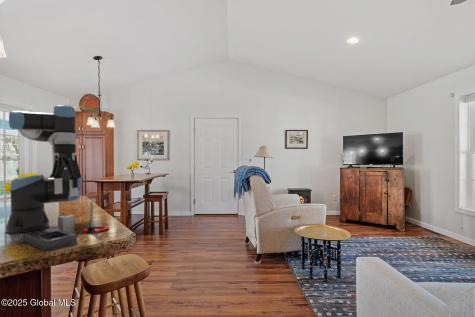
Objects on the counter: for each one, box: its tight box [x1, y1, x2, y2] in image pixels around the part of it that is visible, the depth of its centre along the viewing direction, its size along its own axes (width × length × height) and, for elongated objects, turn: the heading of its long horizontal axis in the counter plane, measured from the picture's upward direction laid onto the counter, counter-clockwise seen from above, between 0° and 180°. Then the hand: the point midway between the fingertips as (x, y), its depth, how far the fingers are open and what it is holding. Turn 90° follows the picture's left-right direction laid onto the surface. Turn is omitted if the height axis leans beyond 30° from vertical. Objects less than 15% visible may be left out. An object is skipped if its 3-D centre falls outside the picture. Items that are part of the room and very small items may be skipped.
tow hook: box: [82, 201, 110, 234], centre depth 115 cm, size 8×13×9 cm
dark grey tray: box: [24, 227, 78, 252], centre depth 99 cm, size 18×10×3 cm, turn 56°
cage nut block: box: [57, 214, 76, 234], centre depth 111 cm, size 4×4×7 cm
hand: (66, 194), depth 111 cm, fingers open, 13 cm apart
